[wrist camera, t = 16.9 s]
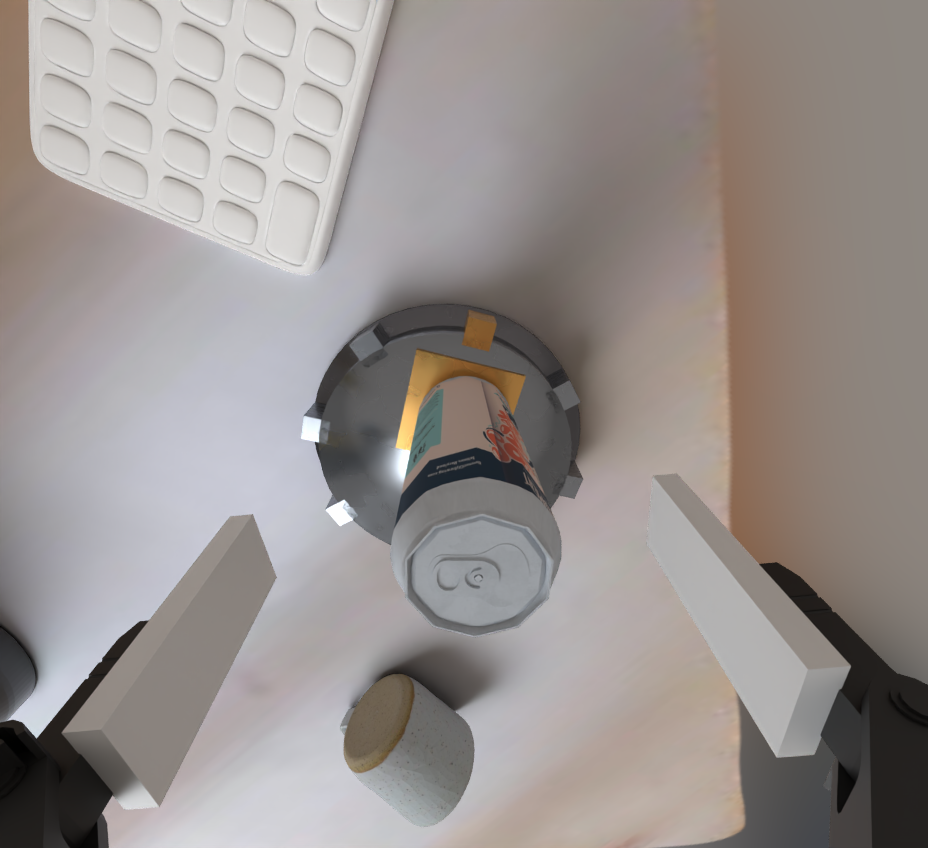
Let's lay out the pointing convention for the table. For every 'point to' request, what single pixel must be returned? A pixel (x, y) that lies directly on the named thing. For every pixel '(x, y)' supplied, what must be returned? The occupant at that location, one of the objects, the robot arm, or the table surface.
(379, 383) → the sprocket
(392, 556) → the beer can
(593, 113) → the table surface
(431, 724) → the ceramic mug
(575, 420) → the hub plate
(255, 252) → the calculator
